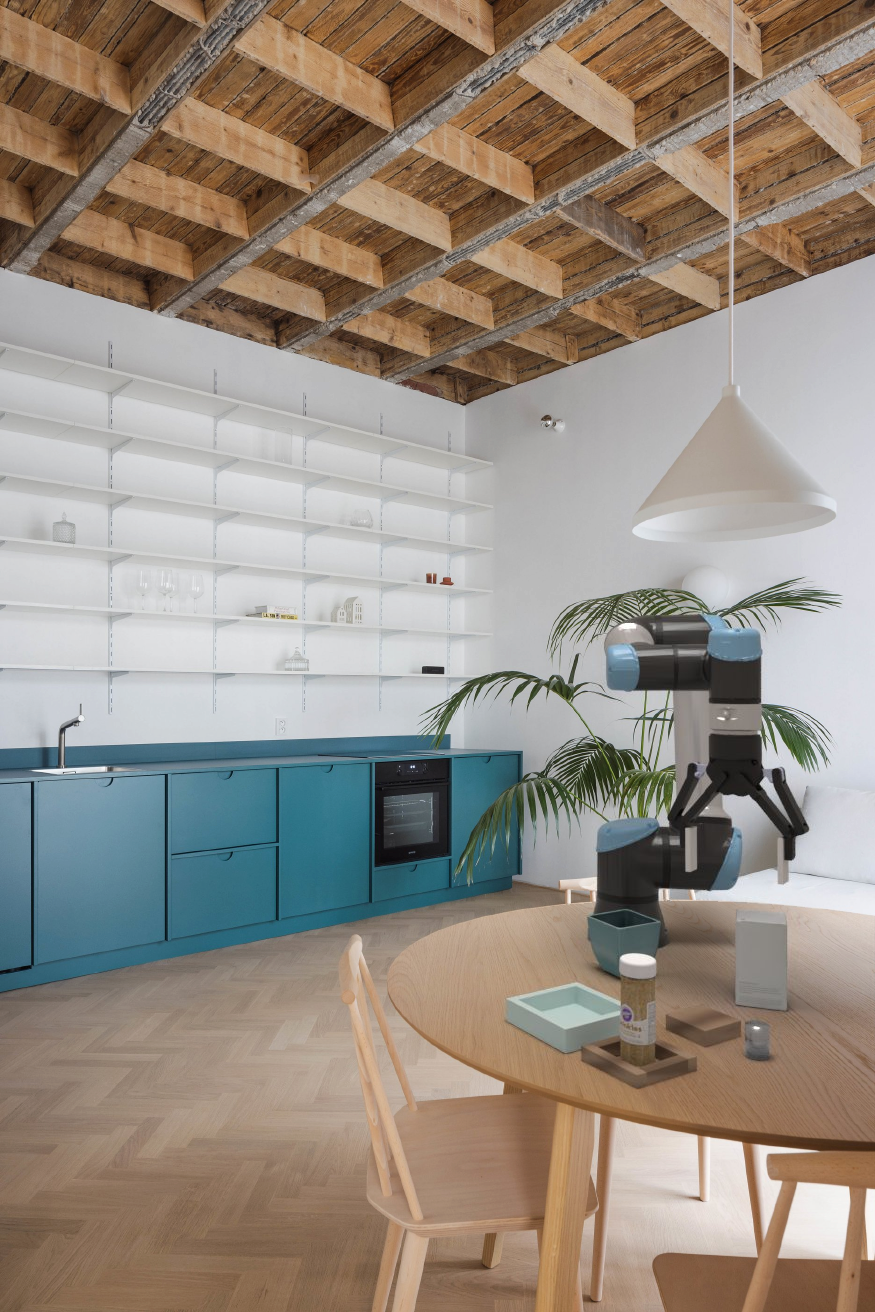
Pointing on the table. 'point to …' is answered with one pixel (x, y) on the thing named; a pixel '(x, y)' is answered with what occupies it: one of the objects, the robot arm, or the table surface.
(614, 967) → the flower pot
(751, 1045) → the bench dog
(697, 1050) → the table surface
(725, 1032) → the square wooden coaster
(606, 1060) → the socket block
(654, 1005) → the sprinkles bottle
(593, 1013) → the tray
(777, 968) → the supplement box
